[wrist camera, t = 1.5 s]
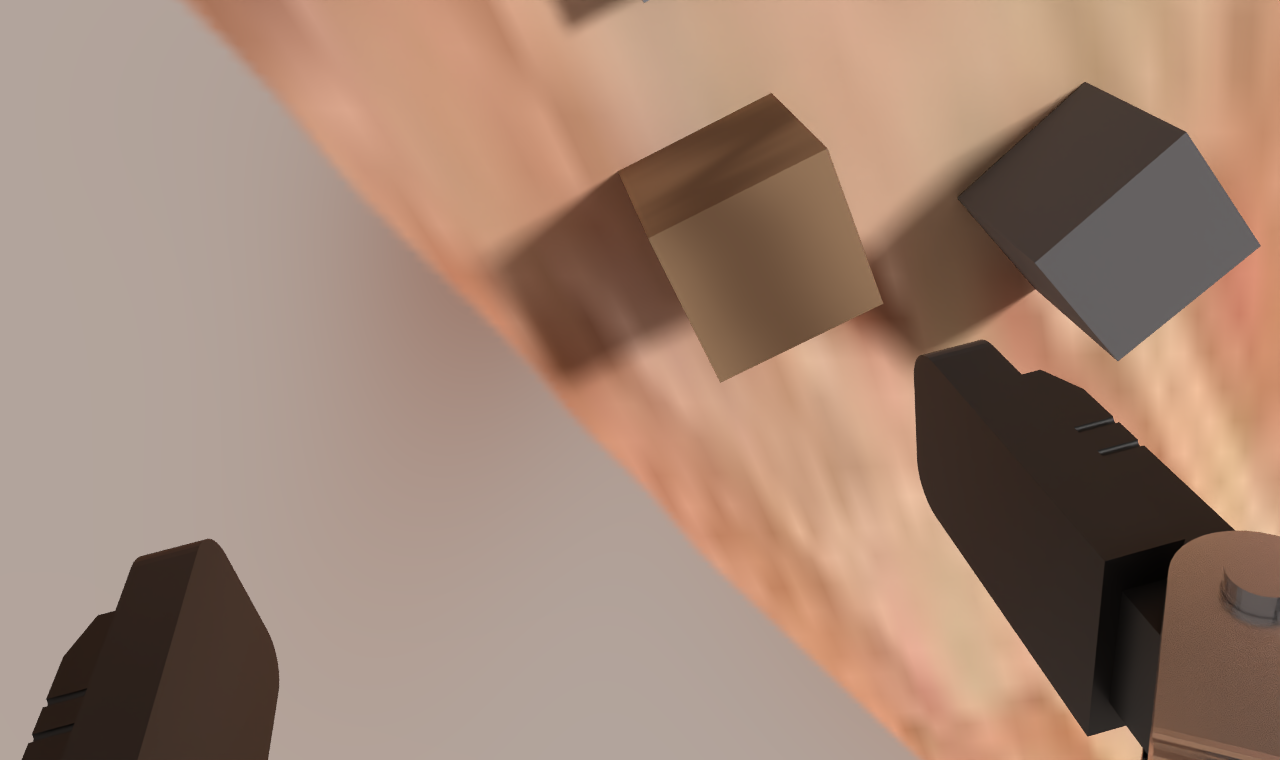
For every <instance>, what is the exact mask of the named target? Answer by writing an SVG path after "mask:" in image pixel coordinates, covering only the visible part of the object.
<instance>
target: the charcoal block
mask: <svg viewBox="0 0 1280 760" xmlns="http://www.w3.org/2000/svg"><path fill="white" fill-rule="evenodd" d="M957 198H958V200H959V201H960V202H961V203H962V204H963V205H964V207H965V208H966V209H967V210H968V211H969V212H970V214H971V215H972V216H973V217H974V218H975V219H976V220H977V222H978V223H979V224H980V225H981V226H982V227H983V229H984V230H985V231H986V232H987V233H988V234H989V236H990V237H991V238H992V239H993V240H994V241H995V243H996V244H997V245H998V246H999V247H1000V248H1001V249H1002V251H1003V252H1004V253H1005V254H1006V255H1007V256H1008V258H1009V259H1010V260H1011V261H1012V262H1013V263H1014V265H1015V266H1016V267H1017V268H1018V269H1019V270H1020V272H1021V273H1022V274H1023V275H1024V276H1025V277H1026V279H1027V280H1028V281H1029V282H1030V283H1031V284H1032V285H1033V287H1034V288H1035V289H1036V290H1037V291H1038V292H1039V293H1041V294H1042V295H1043V296H1044V297H1045V298H1046V299H1047V300H1049V301H1050V302H1051V303H1052V304H1053V305H1054V306H1055V307H1057V308H1058V309H1059V310H1060V311H1061V312H1062V313H1063V314H1065V315H1066V316H1067V317H1068V318H1069V319H1070V320H1071V321H1073V322H1074V323H1075V324H1076V325H1077V326H1078V327H1079V328H1081V329H1082V330H1083V331H1084V332H1085V333H1086V334H1087V335H1088V336H1090V337H1091V338H1092V339H1093V340H1094V341H1095V342H1096V343H1098V344H1099V345H1100V346H1101V347H1102V348H1103V349H1104V350H1106V351H1107V352H1108V353H1109V354H1110V355H1111V356H1112V357H1114V358H1115V359H1116V360H1117V361H1119V360H1120V359H1121V358H1123V357H1124V356H1125V355H1126V354H1128V353H1129V352H1130V351H1131V350H1132V349H1134V348H1135V347H1136V346H1137V345H1139V344H1140V343H1141V342H1142V341H1144V340H1145V339H1146V338H1147V337H1149V336H1150V335H1151V334H1152V333H1154V332H1155V331H1156V330H1157V329H1158V328H1160V327H1161V326H1162V325H1163V324H1165V323H1166V322H1167V321H1168V320H1170V319H1171V318H1172V317H1173V316H1175V315H1176V314H1177V313H1178V312H1180V311H1181V310H1182V309H1183V308H1184V307H1186V306H1187V305H1188V304H1189V303H1191V302H1192V301H1193V300H1194V299H1196V298H1197V297H1198V296H1199V295H1201V294H1202V293H1203V292H1204V291H1206V290H1207V289H1208V288H1209V287H1210V286H1212V285H1213V284H1214V283H1215V282H1217V281H1218V280H1219V279H1220V278H1222V277H1223V276H1224V275H1225V274H1227V273H1228V272H1229V271H1230V270H1232V269H1233V268H1234V267H1235V266H1236V265H1238V264H1239V263H1240V262H1241V261H1243V260H1244V259H1245V258H1246V257H1248V256H1249V255H1250V254H1251V253H1253V252H1254V251H1255V250H1256V249H1258V248H1259V247H1260V244H1259V242H1258V241H1257V239H1256V238H1255V236H1254V235H1253V233H1252V232H1251V230H1250V229H1249V227H1248V226H1247V224H1246V223H1245V221H1244V219H1243V218H1242V216H1241V215H1240V213H1239V212H1238V210H1237V209H1236V207H1235V206H1234V204H1233V203H1232V201H1231V200H1230V198H1229V197H1228V195H1227V193H1226V192H1225V190H1224V189H1223V187H1222V186H1221V184H1220V183H1219V181H1218V180H1217V178H1216V177H1215V175H1214V174H1213V172H1212V170H1211V169H1210V167H1209V166H1208V164H1207V163H1206V161H1205V160H1204V158H1203V157H1202V155H1201V154H1200V152H1199V151H1198V149H1197V148H1196V146H1195V144H1194V143H1193V141H1192V140H1191V138H1190V137H1189V135H1188V134H1187V132H1185V131H1183V130H1181V129H1179V128H1177V127H1175V126H1173V125H1171V124H1169V123H1167V122H1165V121H1163V120H1161V119H1159V118H1157V117H1155V116H1153V115H1151V114H1149V113H1147V112H1145V111H1143V110H1141V109H1139V108H1137V107H1135V106H1133V105H1131V104H1129V103H1127V102H1125V101H1123V100H1121V99H1119V98H1117V97H1115V96H1113V95H1111V94H1108V93H1106V92H1104V91H1102V90H1100V89H1098V88H1096V87H1094V86H1092V85H1090V84H1088V83H1086V82H1084V83H1083V84H1082V85H1081V86H1080V87H1079V88H1078V89H1077V90H1075V91H1074V92H1073V93H1072V94H1071V95H1070V96H1069V97H1068V98H1067V99H1066V100H1064V101H1063V102H1062V103H1061V104H1060V105H1059V106H1058V107H1057V108H1056V109H1055V110H1053V111H1052V112H1051V113H1050V114H1049V115H1048V116H1047V117H1046V118H1045V119H1044V120H1042V121H1041V122H1040V123H1039V124H1038V125H1037V126H1036V127H1035V128H1034V129H1032V130H1031V131H1030V132H1029V133H1028V134H1027V135H1026V136H1025V137H1024V138H1023V139H1021V140H1020V141H1019V142H1018V143H1017V144H1016V145H1015V146H1014V147H1013V148H1012V149H1010V150H1009V151H1008V152H1007V153H1006V154H1005V155H1004V156H1003V157H1002V158H1000V159H999V160H998V161H997V162H996V163H995V164H994V165H993V166H992V167H991V168H989V169H988V170H987V171H986V172H985V173H984V174H983V175H982V176H981V177H980V178H978V179H977V180H976V181H975V182H974V183H973V184H972V185H971V186H970V187H969V188H967V189H966V190H965V191H964V192H963V193H962V194H961V195H960V196H959V197H957Z"/></svg>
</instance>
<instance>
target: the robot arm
mask: <svg viewBox="0 0 1280 760" xmlns="http://www.w3.org/2000/svg"><path fill="white" fill-rule="evenodd" d="M914 388H915V414H916V441H917V463H918V471H919V476H920V480H921V484H922V487H923V490H924V493H925V496H926V498H927V501H928V503H929V505H930V507H931V509H932V511H933V513H934V514H935V516H936V517H937V519H938V520H939V522H940V523H941V525H942V526H943V528H944V529H945V531H946V532H947V533H948V535H949V536H950V538H951V539H952V541H953V542H954V544H955V545H956V546H957V548H958V549H959V551H960V552H961V554H962V555H963V557H964V558H965V560H966V561H967V562H968V564H969V565H970V567H971V568H972V570H973V571H974V573H975V574H976V575H977V577H978V578H979V580H980V581H981V583H982V584H983V586H984V587H985V588H986V590H987V591H988V593H989V594H990V596H991V597H992V599H993V600H994V602H995V603H996V604H997V606H998V607H999V609H1000V610H1001V612H1002V613H1003V615H1004V616H1005V617H1006V619H1007V620H1008V622H1009V623H1010V625H1011V626H1012V628H1013V629H1014V631H1015V632H1016V633H1017V635H1018V636H1019V638H1020V639H1021V641H1022V642H1023V644H1024V645H1025V646H1026V648H1027V649H1028V651H1029V652H1030V654H1031V655H1032V657H1033V658H1034V660H1035V661H1036V662H1037V664H1038V665H1039V667H1040V668H1041V670H1042V671H1043V673H1044V674H1045V675H1046V677H1047V678H1048V680H1049V681H1050V683H1051V684H1052V686H1053V687H1054V688H1055V690H1056V691H1057V693H1058V694H1059V696H1060V697H1061V699H1062V700H1063V702H1064V703H1065V704H1066V706H1067V707H1068V709H1069V710H1070V712H1071V713H1072V715H1073V716H1074V717H1075V719H1076V720H1077V722H1078V723H1079V725H1080V726H1081V728H1082V729H1083V731H1084V732H1085V733H1086V735H1087V736H1091V735H1095V734H1098V733H1102V732H1105V731H1109V730H1112V729H1116V728H1119V727H1123V726H1127V727H1128V728H1129V730H1130V731H1131V733H1132V734H1133V735H1134V737H1135V738H1136V739H1137V741H1138V742H1139V743H1140V745H1141V746H1142V747H1143V748H1142V755H1141V760H1280V537H1279V536H1276V535H1271V534H1266V533H1261V532H1252V531H1235V530H1234V529H1233V528H1232V527H1231V526H1230V525H1229V524H1228V523H1227V522H1225V521H1224V520H1223V519H1222V518H1221V517H1220V516H1219V515H1218V514H1217V513H1216V512H1215V511H1214V510H1213V509H1212V508H1210V507H1209V506H1208V505H1207V504H1206V503H1205V502H1204V501H1203V500H1202V499H1201V498H1200V497H1199V496H1198V495H1197V494H1195V493H1194V492H1193V491H1192V490H1191V489H1190V488H1189V487H1188V486H1187V485H1186V484H1185V483H1184V482H1183V481H1182V480H1180V479H1179V478H1178V477H1177V476H1176V475H1175V474H1174V473H1173V472H1172V471H1171V470H1170V469H1169V468H1168V467H1167V466H1165V465H1164V464H1163V463H1162V462H1161V461H1160V460H1159V459H1158V458H1157V457H1156V456H1155V455H1154V454H1153V453H1152V452H1150V451H1149V450H1148V449H1147V448H1146V447H1145V446H1139V444H1138V439H1137V438H1135V437H1134V436H1133V435H1132V434H1131V433H1130V432H1129V431H1128V430H1127V429H1126V428H1125V427H1124V426H1123V425H1122V424H1120V423H1119V422H1118V423H1115V422H1114V419H1113V416H1112V415H1111V414H1110V413H1109V412H1108V411H1107V410H1105V409H1104V408H1103V407H1102V406H1101V405H1100V404H1099V403H1098V402H1097V401H1096V400H1095V399H1094V398H1093V397H1092V396H1090V395H1089V394H1088V393H1087V392H1086V391H1085V390H1084V389H1082V388H1080V387H1078V386H1076V385H1073V384H1071V383H1069V382H1067V381H1064V380H1062V379H1060V378H1058V377H1056V376H1053V375H1051V374H1049V373H1047V372H1044V371H1042V370H1038V371H1034V372H1030V373H1026V374H1021V373H1020V372H1019V371H1018V370H1017V369H1016V368H1015V367H1014V366H1013V365H1012V364H1011V363H1010V362H1009V361H1008V360H1007V359H1006V358H1005V357H1004V356H1003V355H1002V354H1001V353H1000V352H999V351H998V350H997V349H996V348H995V347H994V346H993V345H991V344H990V343H989V342H987V341H986V340H978V341H974V342H971V343H967V344H963V345H959V346H955V347H951V348H947V349H944V350H940V351H936V352H932V353H928V354H924V355H921V356H919V357H918V358H917V360H916V362H915V367H914ZM278 691H279V670H278V662H277V657H276V653H275V649H274V645H273V642H272V640H271V637H270V635H269V633H268V631H267V629H266V627H265V625H264V623H263V622H262V620H261V618H260V616H259V614H258V612H257V611H256V609H255V607H254V605H253V604H252V602H251V600H250V598H249V596H248V594H247V592H246V591H245V589H244V587H243V585H242V583H241V582H240V580H239V578H238V576H237V574H236V572H235V571H234V569H233V567H232V565H231V563H230V562H229V560H228V558H227V556H226V554H225V553H224V551H223V549H222V548H221V547H220V546H219V545H218V544H217V543H216V542H215V541H214V540H212V539H205V540H202V541H198V542H194V543H190V544H186V545H182V546H179V547H175V548H171V549H167V550H163V551H159V552H156V553H152V554H148V555H144V556H140V557H139V558H137V559H136V560H135V562H134V563H133V565H132V567H131V570H130V572H129V575H128V578H127V581H126V583H125V586H124V589H123V591H122V594H121V597H120V600H119V602H118V605H117V608H116V611H113V612H109V613H105V614H101V615H98V616H97V617H96V618H95V619H94V621H93V622H92V623H91V624H90V625H89V626H88V628H87V629H86V630H85V631H84V633H83V634H82V635H81V636H80V637H79V639H78V640H77V641H76V642H75V643H74V645H73V646H72V647H71V648H70V649H69V651H68V652H67V653H66V654H65V656H64V657H63V659H62V662H61V664H60V666H59V669H58V671H57V674H56V676H55V679H54V681H53V684H52V687H51V689H50V691H49V694H48V696H47V702H48V706H47V707H43V709H42V711H41V713H40V716H39V718H38V721H37V723H36V726H35V728H34V731H33V733H32V735H33V738H34V740H33V742H31V743H28V746H27V748H26V750H25V753H24V755H23V758H22V760H268V755H269V749H270V743H271V736H272V730H273V724H274V716H275V710H276V704H277V698H278Z"/></svg>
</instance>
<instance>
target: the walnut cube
mask: <svg viewBox="0 0 1280 760" xmlns="http://www.w3.org/2000/svg"><path fill="white" fill-rule="evenodd" d="M618 173H619V175H620V177H621V180H622V182H623V184H624V186H625V188H626V191H627V193H628V195H629V197H630V200H631V202H632V204H633V206H634V208H635V211H636V213H637V215H638V217H639V220H640V222H641V224H642V226H643V228H644V231H645V233H646V235H647V237H648V239H649V241H650V243H651V245H652V247H653V249H654V251H655V253H656V255H657V257H658V259H659V261H660V263H661V265H662V267H663V269H664V271H665V273H666V275H667V277H668V279H669V281H670V283H671V285H672V287H673V289H674V291H675V293H676V295H677V297H678V299H679V301H680V303H681V305H682V307H683V309H684V311H685V313H686V315H687V317H688V319H689V321H690V323H691V325H692V327H693V329H694V331H695V333H696V335H697V337H698V339H699V341H700V343H701V345H702V347H703V349H704V351H705V353H706V355H707V357H708V359H709V361H710V363H711V365H712V367H713V369H714V371H715V373H716V375H717V377H718V379H719V381H720V383H721V382H723V381H725V380H727V379H729V378H731V377H733V376H735V375H737V374H739V373H741V372H743V371H745V370H747V369H750V368H752V367H754V366H756V365H758V364H760V363H762V362H764V361H766V360H768V359H770V358H772V357H774V356H776V355H778V354H780V353H783V352H785V351H787V350H789V349H791V348H793V347H795V346H797V345H799V344H801V343H803V342H805V341H807V340H809V339H811V338H813V337H816V336H818V335H820V334H822V333H824V332H826V331H828V330H830V329H832V328H834V327H836V326H838V325H840V324H842V323H844V322H846V321H848V320H851V319H853V318H855V317H857V316H859V315H861V314H863V313H865V312H867V311H869V310H871V309H873V308H875V307H877V306H879V305H881V304H883V301H882V299H881V296H880V293H879V290H878V287H877V285H876V282H875V279H874V276H873V274H872V271H871V268H870V265H869V262H868V260H867V257H866V254H865V251H864V249H863V246H862V243H861V240H860V237H859V235H858V232H857V229H856V226H855V224H854V221H853V218H852V215H851V212H850V210H849V207H848V204H847V201H846V199H845V196H844V193H843V190H842V187H841V185H840V182H839V179H838V176H837V174H836V171H835V168H834V165H833V163H832V160H831V157H830V154H829V151H828V149H827V147H825V146H824V145H823V144H822V143H821V142H820V141H819V140H818V139H817V138H816V137H815V136H814V135H813V134H812V133H811V132H810V131H809V130H808V129H807V128H806V127H805V126H804V125H803V124H802V123H801V122H800V121H799V120H798V119H797V118H796V117H795V116H794V115H793V114H792V113H791V112H790V111H789V110H788V109H787V108H786V107H785V106H784V105H783V104H782V103H781V102H780V101H779V100H778V99H777V98H776V97H775V96H774V95H773V94H772V93H771V94H769V95H767V96H765V97H763V98H761V99H759V100H757V101H755V102H753V103H751V104H749V105H747V106H745V107H743V108H741V109H739V110H737V111H735V112H733V113H731V114H730V115H728V116H726V117H724V118H722V119H720V120H718V121H716V122H714V123H712V124H710V125H708V126H706V127H704V128H702V129H700V130H698V131H696V132H694V133H692V134H690V135H688V136H686V137H684V138H683V139H681V140H679V141H677V142H675V143H673V144H671V145H669V146H667V147H665V148H663V149H661V150H659V151H657V152H655V153H653V154H651V155H649V156H647V157H645V158H643V159H641V160H639V161H637V162H636V163H634V164H632V165H630V166H628V167H626V168H624V169H622V170H620V171H618Z"/></svg>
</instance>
